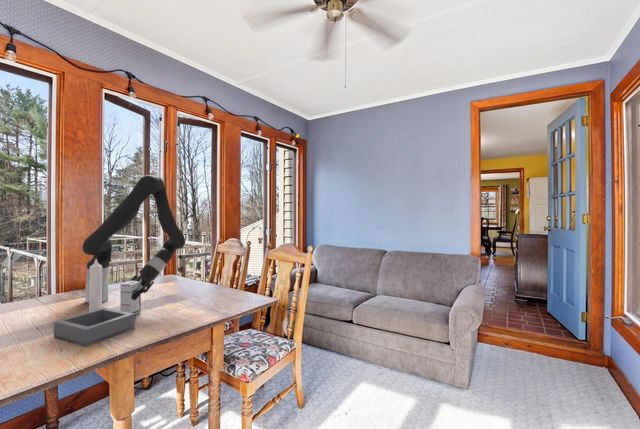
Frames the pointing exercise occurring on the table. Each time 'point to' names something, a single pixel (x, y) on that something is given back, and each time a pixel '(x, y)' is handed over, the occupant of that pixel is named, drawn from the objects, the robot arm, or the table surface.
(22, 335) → the table surface
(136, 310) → the syrup box
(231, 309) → the table surface
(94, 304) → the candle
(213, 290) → the table surface
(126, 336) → the table surface
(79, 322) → the box
